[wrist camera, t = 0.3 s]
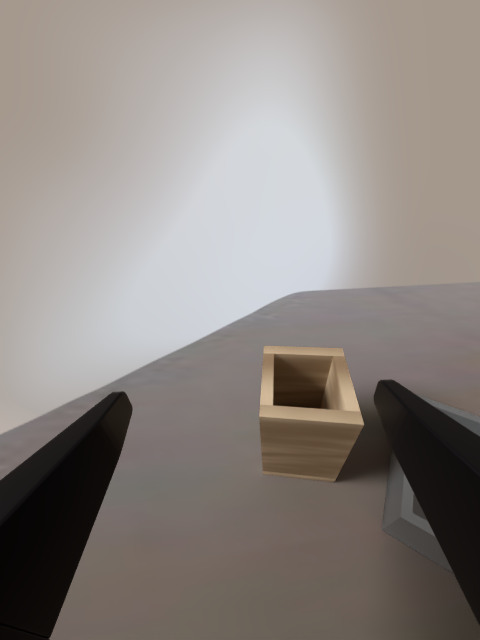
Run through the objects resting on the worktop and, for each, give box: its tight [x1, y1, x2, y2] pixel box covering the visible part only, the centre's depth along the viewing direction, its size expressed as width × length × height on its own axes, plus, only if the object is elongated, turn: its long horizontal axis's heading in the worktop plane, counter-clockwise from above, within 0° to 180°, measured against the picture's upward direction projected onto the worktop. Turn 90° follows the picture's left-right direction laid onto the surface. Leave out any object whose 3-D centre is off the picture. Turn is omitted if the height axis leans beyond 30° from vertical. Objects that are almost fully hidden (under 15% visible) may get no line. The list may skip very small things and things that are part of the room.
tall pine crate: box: [259, 346, 364, 482], centre depth 19 cm, size 6×6×10 cm
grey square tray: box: [382, 394, 480, 574], centre depth 17 cm, size 10×10×4 cm
